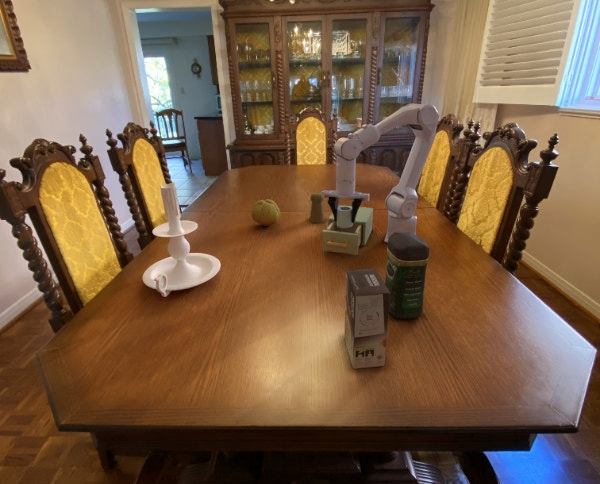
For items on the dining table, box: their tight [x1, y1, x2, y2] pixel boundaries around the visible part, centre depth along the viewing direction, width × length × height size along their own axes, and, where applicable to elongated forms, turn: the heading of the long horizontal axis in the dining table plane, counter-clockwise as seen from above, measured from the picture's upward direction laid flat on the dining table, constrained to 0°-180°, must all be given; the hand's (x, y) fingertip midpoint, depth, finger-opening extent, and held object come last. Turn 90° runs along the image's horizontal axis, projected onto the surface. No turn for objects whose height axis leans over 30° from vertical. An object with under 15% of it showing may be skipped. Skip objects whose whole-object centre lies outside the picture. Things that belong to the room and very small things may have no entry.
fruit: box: [250, 198, 281, 227], centre depth 132 cm, size 11×12×10 cm
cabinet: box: [327, 204, 374, 247], centre depth 121 cm, size 15×13×8 cm
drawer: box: [321, 221, 363, 256], centre depth 111 cm, size 18×11×7 cm, turn 160°
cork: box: [309, 192, 326, 224], centre depth 136 cm, size 6×6×11 cm
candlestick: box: [141, 182, 221, 298], centre depth 90 cm, size 21×25×28 cm
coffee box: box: [343, 268, 390, 369], centre depth 66 cm, size 9×6×16 cm
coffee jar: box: [384, 231, 430, 320], centre depth 78 cm, size 10×8×19 cm
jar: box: [337, 205, 353, 228], centre depth 109 cm, size 5×5×6 cm
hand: (344, 220), depth 109 cm, fingers closed on jar, 5 cm apart
